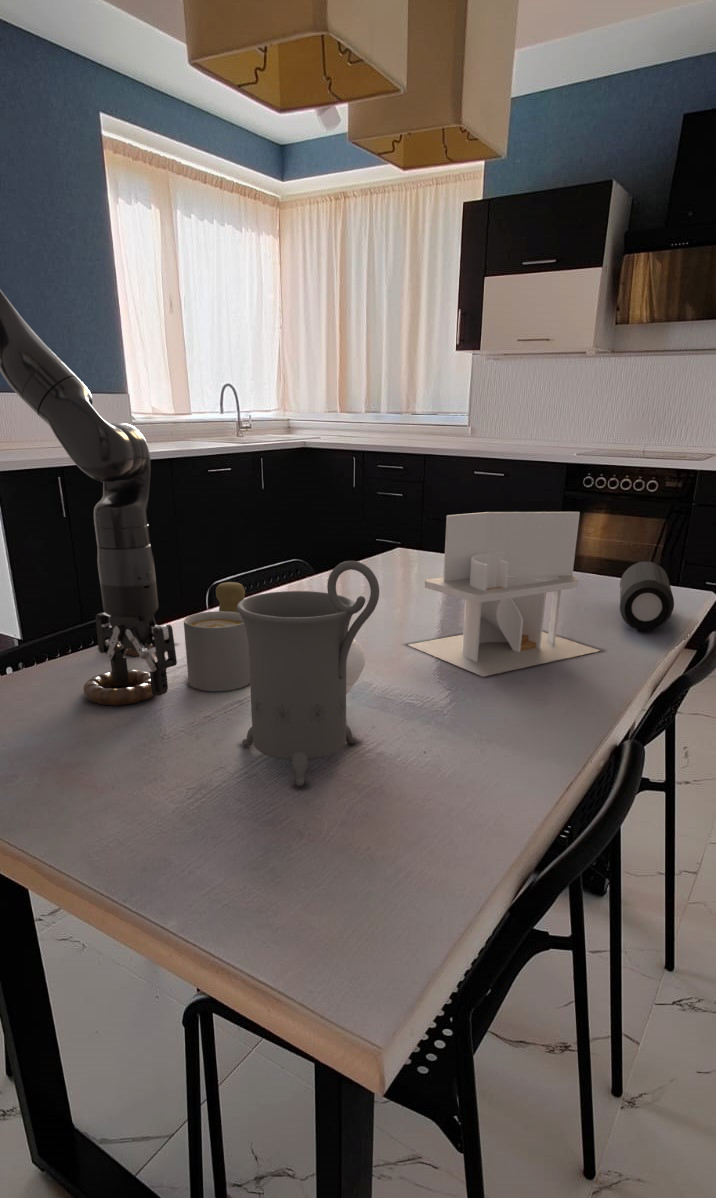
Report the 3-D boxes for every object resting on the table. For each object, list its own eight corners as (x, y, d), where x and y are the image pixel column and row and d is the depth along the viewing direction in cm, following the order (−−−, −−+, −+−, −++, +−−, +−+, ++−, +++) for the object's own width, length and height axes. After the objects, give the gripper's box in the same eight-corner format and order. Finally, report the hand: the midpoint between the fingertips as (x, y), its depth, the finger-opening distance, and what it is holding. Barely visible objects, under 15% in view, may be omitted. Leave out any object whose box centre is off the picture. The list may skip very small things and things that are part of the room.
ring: (70, 697, 115) (67, 681, 114) (128, 678, 123) (126, 663, 122) (116, 712, 109) (114, 697, 108) (174, 692, 117) (173, 677, 116)
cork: (210, 645, 140) (206, 585, 136) (225, 636, 145) (222, 578, 141) (241, 648, 138) (238, 587, 134) (255, 639, 144) (252, 580, 139)
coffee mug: (229, 695, 116) (225, 630, 112) (175, 685, 120) (170, 623, 116) (274, 669, 127) (272, 610, 123) (223, 661, 131) (220, 604, 127)
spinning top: (346, 719, 107) (346, 636, 103) (301, 709, 111) (299, 628, 106) (374, 703, 114) (375, 624, 109) (330, 693, 117) (330, 616, 112)
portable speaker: (617, 602, 173) (623, 557, 169) (663, 606, 170) (671, 560, 166) (616, 631, 151) (623, 581, 147) (670, 636, 148) (679, 584, 144)
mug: (209, 766, 93) (193, 559, 83) (273, 725, 106) (266, 539, 96) (347, 799, 86) (348, 576, 76) (399, 750, 98) (405, 552, 88)
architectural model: (483, 676, 125) (494, 529, 116) (406, 644, 141) (411, 513, 132) (601, 650, 139) (619, 517, 130) (519, 624, 155) (530, 504, 146)
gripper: (73, 576, 108) (88, 685, 114) (140, 589, 100) (153, 705, 107) (116, 568, 113) (129, 672, 120) (183, 579, 106) (193, 690, 112)
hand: (140, 688), depth 113 cm, fingers open, 8 cm apart
